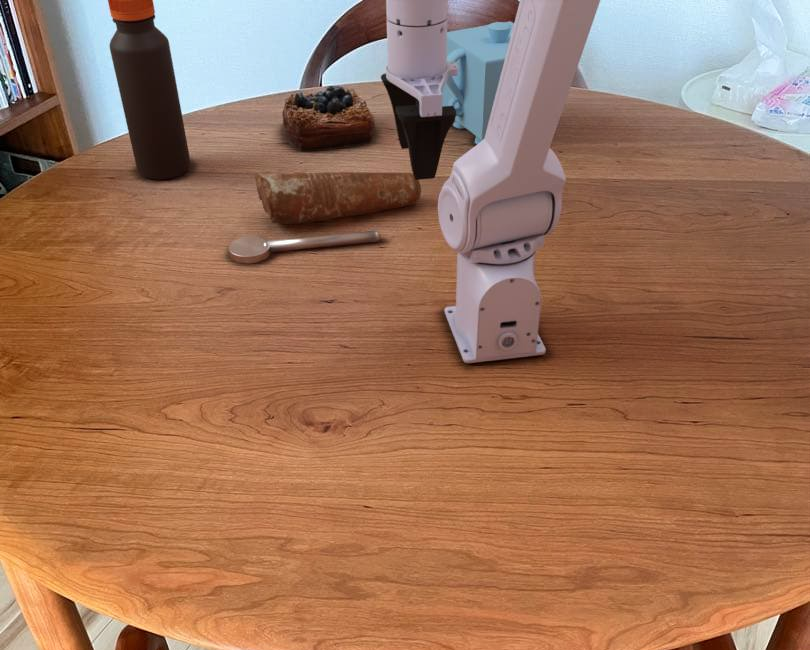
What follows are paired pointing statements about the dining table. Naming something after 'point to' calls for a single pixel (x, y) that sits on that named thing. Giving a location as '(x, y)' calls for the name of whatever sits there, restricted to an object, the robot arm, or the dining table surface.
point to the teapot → (475, 73)
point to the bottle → (148, 91)
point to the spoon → (292, 244)
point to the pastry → (327, 120)
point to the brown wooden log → (333, 194)
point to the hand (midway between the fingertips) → (417, 162)
